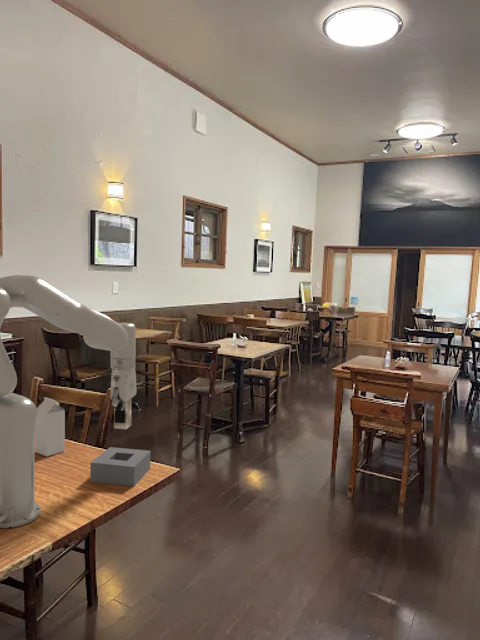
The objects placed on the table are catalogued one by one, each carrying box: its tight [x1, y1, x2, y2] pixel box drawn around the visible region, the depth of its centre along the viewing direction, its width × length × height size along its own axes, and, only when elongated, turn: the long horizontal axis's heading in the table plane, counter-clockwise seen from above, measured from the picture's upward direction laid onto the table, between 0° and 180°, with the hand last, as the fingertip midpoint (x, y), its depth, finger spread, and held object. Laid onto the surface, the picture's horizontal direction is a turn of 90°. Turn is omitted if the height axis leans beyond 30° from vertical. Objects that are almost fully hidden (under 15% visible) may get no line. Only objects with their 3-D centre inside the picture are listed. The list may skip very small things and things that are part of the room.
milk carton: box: [34, 396, 66, 457], centre depth 169 cm, size 7×7×19 cm
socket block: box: [89, 446, 151, 487], centre depth 152 cm, size 14×14×6 cm
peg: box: [113, 398, 132, 430], centre depth 151 cm, size 4×4×11 cm
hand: (122, 419), depth 151 cm, fingers closed on peg, 4 cm apart
